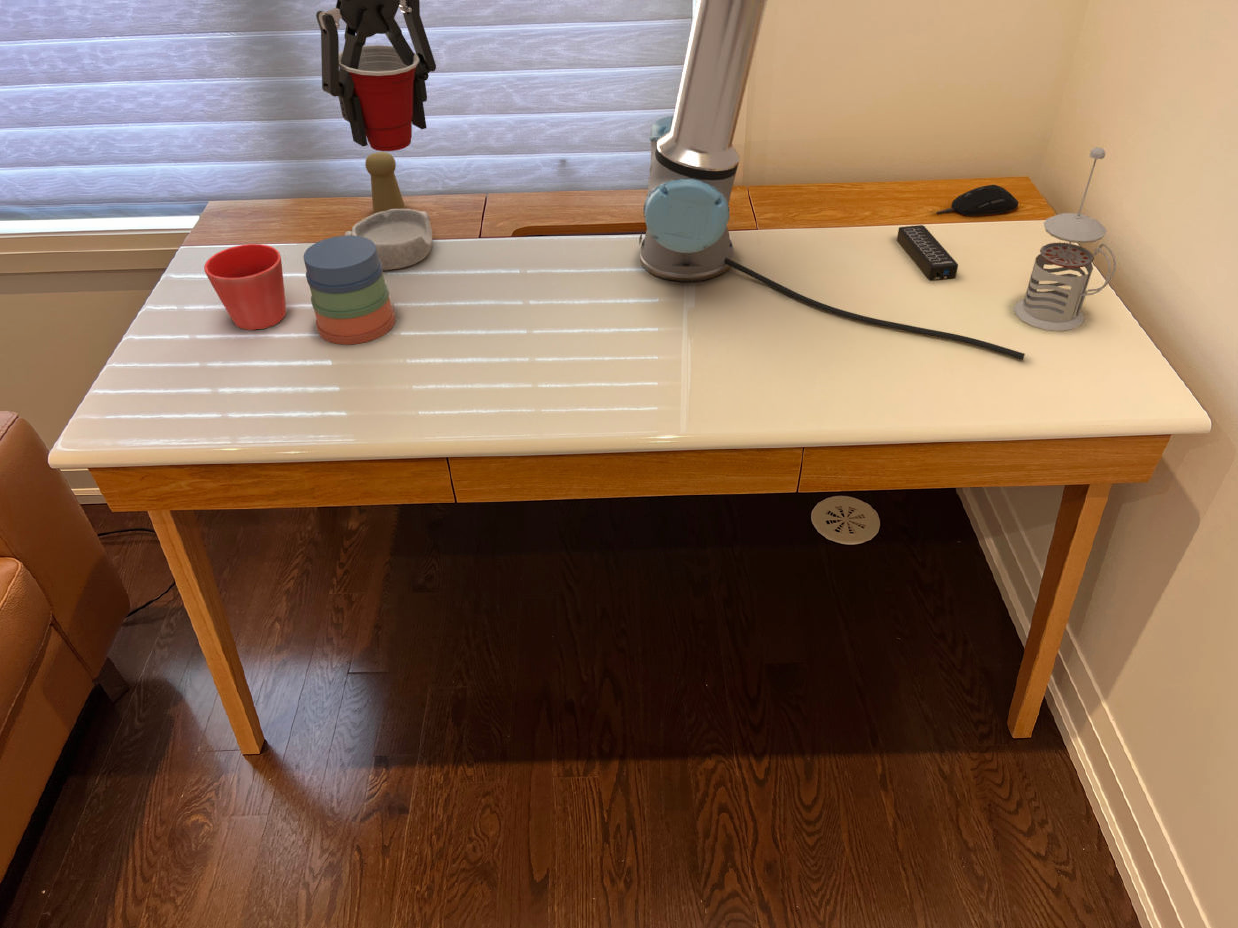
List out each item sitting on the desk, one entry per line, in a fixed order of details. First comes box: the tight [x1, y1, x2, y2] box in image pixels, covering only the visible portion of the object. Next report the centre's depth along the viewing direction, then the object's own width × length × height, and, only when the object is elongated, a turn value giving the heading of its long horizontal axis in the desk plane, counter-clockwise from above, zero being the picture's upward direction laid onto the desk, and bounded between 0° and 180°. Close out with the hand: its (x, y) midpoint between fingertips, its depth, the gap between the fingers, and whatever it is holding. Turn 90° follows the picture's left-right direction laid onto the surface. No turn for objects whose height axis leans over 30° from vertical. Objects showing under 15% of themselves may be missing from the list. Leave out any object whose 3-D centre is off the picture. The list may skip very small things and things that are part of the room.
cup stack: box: [303, 235, 397, 345], centre depth 139 cm, size 12×12×12 cm
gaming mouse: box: [936, 184, 1019, 217], centre depth 166 cm, size 6×15×4 cm, turn 101°
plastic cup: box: [339, 44, 419, 152], centre depth 129 cm, size 11×11×12 cm
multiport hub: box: [896, 224, 959, 282], centre depth 154 cm, size 4×14×2 cm, turn 8°
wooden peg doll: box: [364, 151, 407, 215], centre depth 169 cm, size 6×6×11 cm
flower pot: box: [203, 243, 287, 331], centre depth 142 cm, size 11×11×10 cm
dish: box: [344, 208, 433, 271], centre depth 159 cm, size 14×14×5 cm
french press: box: [1013, 146, 1117, 332], centre depth 132 cm, size 10×12×25 cm
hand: (390, 134), depth 132 cm, fingers closed on plastic cup, 9 cm apart
